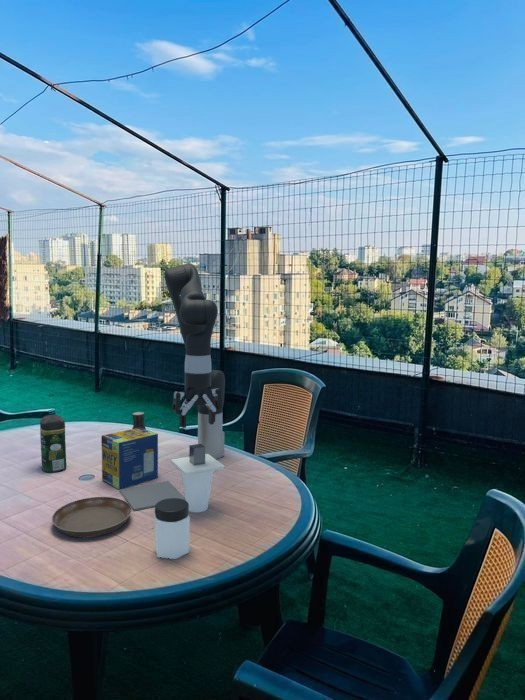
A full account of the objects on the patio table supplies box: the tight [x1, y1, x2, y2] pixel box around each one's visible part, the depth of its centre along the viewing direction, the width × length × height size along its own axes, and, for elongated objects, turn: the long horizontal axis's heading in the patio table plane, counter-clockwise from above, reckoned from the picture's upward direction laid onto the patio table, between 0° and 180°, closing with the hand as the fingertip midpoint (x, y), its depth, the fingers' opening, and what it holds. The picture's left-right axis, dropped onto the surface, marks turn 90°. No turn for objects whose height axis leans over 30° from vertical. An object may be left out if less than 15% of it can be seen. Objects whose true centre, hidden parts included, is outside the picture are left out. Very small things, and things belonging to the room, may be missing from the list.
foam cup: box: [180, 471, 215, 513], centre depth 154 cm, size 10×9×13 cm
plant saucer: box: [51, 496, 133, 538], centre depth 144 cm, size 21×21×3 cm
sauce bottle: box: [131, 411, 147, 430], centre depth 185 cm, size 6×6×20 cm
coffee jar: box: [39, 414, 67, 473], centre depth 183 cm, size 10×8×19 cm
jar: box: [154, 498, 191, 560], centre depth 130 cm, size 9×8×12 cm
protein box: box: [101, 427, 159, 490], centre depth 174 cm, size 10×15×16 cm
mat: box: [118, 480, 185, 512], centre depth 163 cm, size 16×16×1 cm
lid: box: [170, 443, 226, 476], centre depth 153 cm, size 12×12×6 cm
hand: (197, 425), depth 152 cm, fingers open, 8 cm apart
